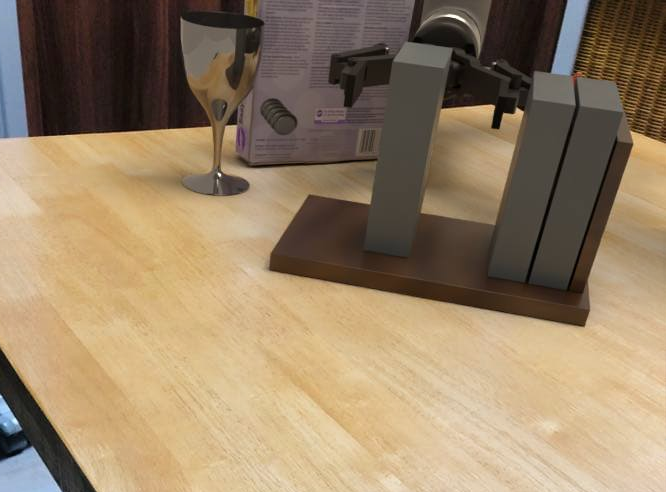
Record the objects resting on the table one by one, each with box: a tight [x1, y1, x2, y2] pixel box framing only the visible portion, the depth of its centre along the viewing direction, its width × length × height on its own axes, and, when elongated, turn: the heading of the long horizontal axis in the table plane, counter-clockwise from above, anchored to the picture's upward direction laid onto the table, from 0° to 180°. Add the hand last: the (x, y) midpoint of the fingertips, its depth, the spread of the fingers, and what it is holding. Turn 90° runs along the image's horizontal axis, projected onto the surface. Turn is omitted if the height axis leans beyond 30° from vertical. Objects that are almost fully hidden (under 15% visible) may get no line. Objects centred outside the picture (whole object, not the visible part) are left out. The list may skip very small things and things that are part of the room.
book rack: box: [269, 110, 634, 327], centre depth 75 cm, size 27×16×14 cm, turn 76°
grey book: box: [363, 41, 453, 258], centre depth 74 cm, size 4×8×15 cm, turn 166°
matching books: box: [487, 70, 625, 290], centre depth 72 cm, size 7×10×14 cm
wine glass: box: [179, 10, 265, 196], centre depth 86 cm, size 8×8×15 cm
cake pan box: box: [234, 0, 416, 166], centre depth 94 cm, size 19×5×18 cm, turn 113°
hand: (423, 102), depth 78 cm, fingers open, 13 cm apart
